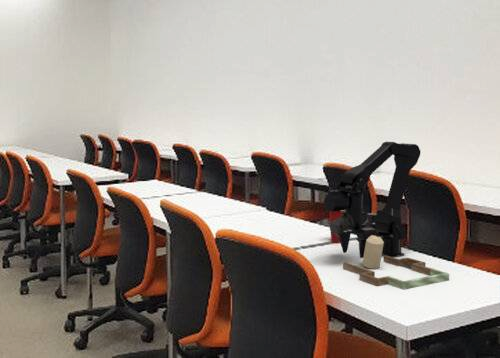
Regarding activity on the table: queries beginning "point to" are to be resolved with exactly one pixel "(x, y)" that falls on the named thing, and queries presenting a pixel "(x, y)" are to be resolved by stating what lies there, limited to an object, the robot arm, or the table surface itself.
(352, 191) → the robot arm
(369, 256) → the candle
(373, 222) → the supplement bottle
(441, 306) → the table surface
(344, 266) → the trap lane
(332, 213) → the paper cup
